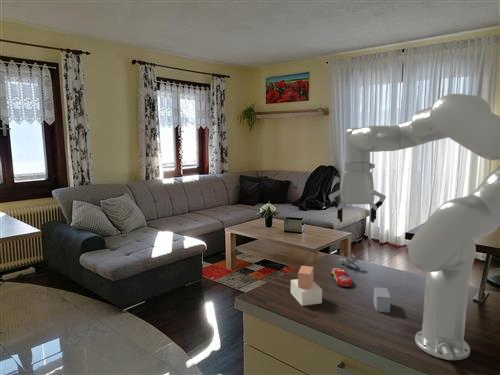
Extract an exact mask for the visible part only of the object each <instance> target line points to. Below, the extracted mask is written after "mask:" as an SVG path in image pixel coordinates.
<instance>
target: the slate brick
mask: <svg viewBox="0 0 500 375" xmlns="http://www.w3.org/2000/svg"><path fill="white" fill-rule="evenodd" d="M391 298H392V297H391V295H390V292H389V290H388V288H386V287H378V286H377V287H375V286H374V287H373V300H372V301H373V304H374V308H375V311H376V312H377V313H378V312H379V313H390V312H391V301H392V300H391Z"/></svg>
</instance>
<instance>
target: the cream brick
mask: <svg viewBox="0 0 500 375" xmlns="http://www.w3.org/2000/svg"><path fill="white" fill-rule="evenodd" d="M290 294H291V295H292V296H293V297H294V298H295V300H296V301H297V302H298V303H299V304H300V306H302V307H303V306H311V305H318V304H323V289H322V288H321V287H320V286H319V285H318V284H317V283H316V282H315V281H314V280H313V282H312V285H311V288H310V289H306V288H298V278H297V279H290Z"/></svg>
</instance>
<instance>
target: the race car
mask: <svg viewBox="0 0 500 375" xmlns="http://www.w3.org/2000/svg"><path fill="white" fill-rule="evenodd" d="M331 278H332V279H333V280H334V282H335V284H336V285H337V286H338V287H341V288H351V287H353V281H352V279H351V275H350V274H348V273H347V271H346V270H345V269H344V268H340V267H339V268H338V267H337V268H332V269H331Z"/></svg>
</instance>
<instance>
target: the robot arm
mask: <svg viewBox="0 0 500 375" xmlns="http://www.w3.org/2000/svg"><path fill="white" fill-rule="evenodd" d="M344 133H345V134H344V171H342V172H341V175H340V176H341V177H340V186H339V188H340V189H338V190H337V191H334V192H333V193H331V194H328V198H329V200H330V202H331V204H332V205H333V207H335V208H336V209H337V210H336V211H337V216H336V219H337V220H338V221H339V222H340V223H343V207H344V206H345V205H369V206H370V207H371V209H370V210H369V211H370V212H369V213H370V215H369V216H370V217H369V219H370V220H369V221H370V222H371V223H373V224H374V223H375V221H376V220H377V210H378V209H379V208H380V207H381V206H382V205H383V204H384V201H385V200H386V197H387V196H386V195H385V194H383V193H381V192H378V191H377V190H375V187H374V186H375V185H374V184H375V183H374V178H373V177H374V176H373V171H371V170H372V169H375V167H376V164H375V163H372V162H371V153H372V152H373V153H374V152H375V153H377V152H394V151H399V150H400V151H401V150H404V149H410V148H414V147H418V146H421V145H425V144H426V143H430V142H436V141H439V140H443V139H450V140H452V141H453V142H455V143H457V144H459V145H460V146H461V147H463V148H465V149H466V150H467V151H470V152H471V153H473V154H475V155H476V156H479V157H481V158H483V159H485V160H489V161H495V162H500V115H497V114H495V113H494V112H492V109H491V105H490V104H489V102H488V101H487V100H486V99H484V98H483V97H481V96H478V95H474V94H466V93H465V94H463V93H449V94H447V95H444V96H441V97H440V98H439V99H438V100H436V101H435V102H434V103H433V105H432V106H429V107H426V108H423V109H420V110H417V111H416V112H414V114H413V115H412V118H411V120H410V121H406V122H404V123H400V124H396V125H369V126H365V127H350V128H347V129H346V130H345V132H344ZM375 196H376V197H378V198H379V199H378V200H377V201H376V203H374V201H375ZM336 197H339V200H340V201H339V202H338V201H336V200H335V198H336ZM499 227H500V165H498V166H497V167H496V168H495V169H493V171H491V172H490V173H489V174H488V175H487V176H486V177H485V178H484V180H483V181H482V182H481V183H480V184H479V185H478V187H476V188H475V190H473V191H472V192H471V193H470V194H469V195H466V196H463V197H457V198H456V197H455V198H452V199H450V200H448V201H445V202H444V203H442V204H441V205H440V206H438V207H437V208H436V209H435V211H433V213H432V214H431V215H430V216H429V217H428V218H427V220H426V221H425V222H424V223H423V224H422V225H421V227H420V228H419V229H418V230H417V231H416V233H414V235H413V237H412V238H411V240H410V242H409V244H408V248H407V249H408V251H407V252H408V257H409V259H410V263H411V264H413V266H415V267H416V268H417V269H419V270H420V271H423V272H426V277H425V286H424V287H425V288H424V301H423V316H422V325H421V326H422V327H421V328H422V329H421V330H420V331H417V333H416V334H415V336H414V342H415V344H416V346H418V348H419V349H420V350H422V351H423V352H424V353H427V354H428V355H431V356H432V357H433V356H434V357H435V358H438V359H441V360H442V359H443V360H447V361H460V360H464V359H467V358H468V357H469V356H470V355H471V347H470V345H469V343H467V341H465V330H466V329H465V328H466V318H467V317H466V316H467V308H468V307H467V306H468V305H467V304H468V296H469V289H470V288H469V285H470V280H471V279H470V278H471V273H472V268H473V266H474V262H475V258H476V251H477V249H476V248H477V247H476V242H475V240H476V239H480V238H484V237H487V236H489V235H491V234H493V233H494V232H495V231H496V230H497V229H499Z"/></svg>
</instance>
